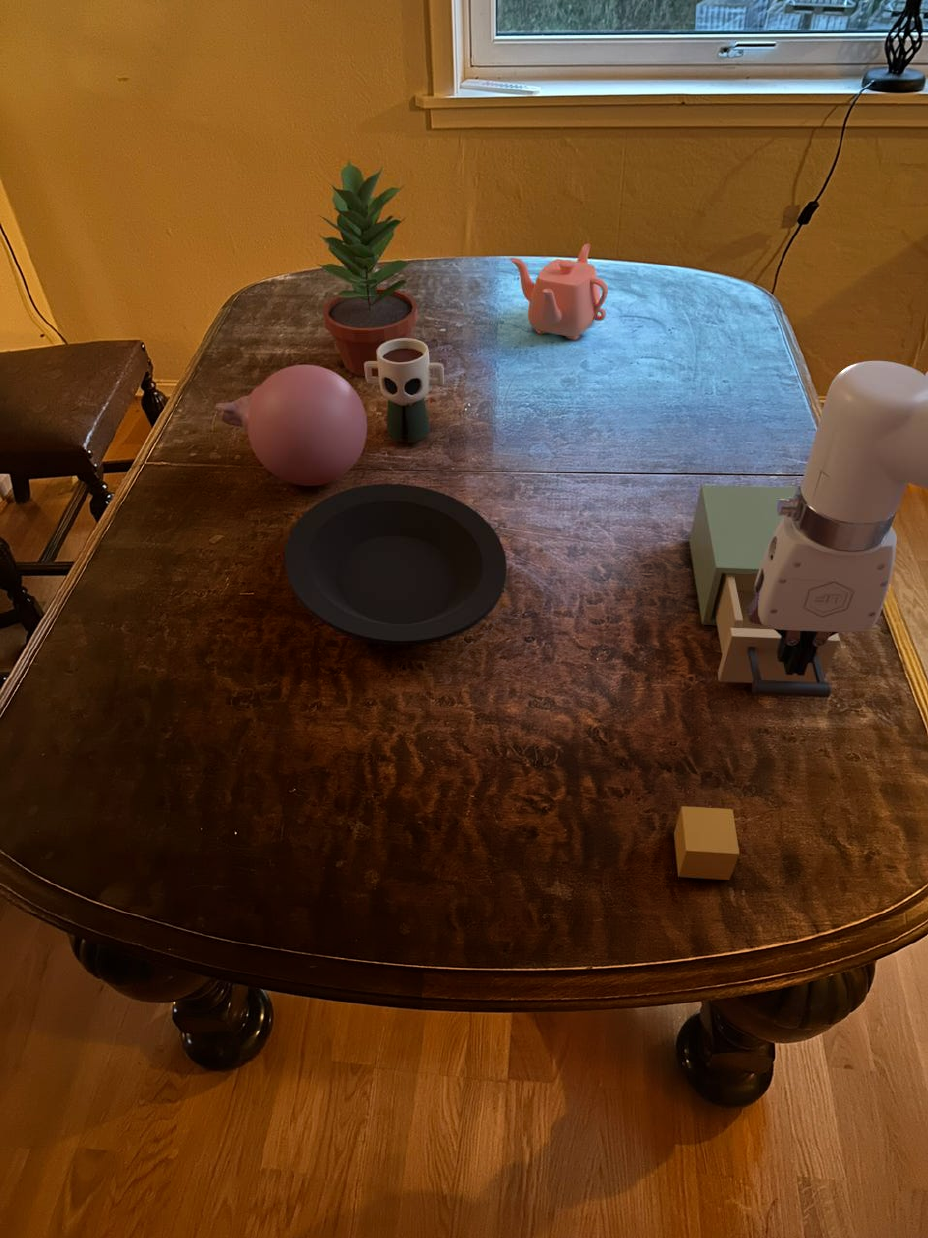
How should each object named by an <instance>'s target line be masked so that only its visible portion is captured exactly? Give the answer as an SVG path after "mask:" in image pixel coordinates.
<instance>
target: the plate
mask: <svg viewBox="0 0 928 1238" xmlns="http://www.w3.org/2000/svg"><path fill="white" fill-rule="evenodd" d="M284 567H285V572H286V575H287V579H288V583H289V585H290V587H291V590H292V592H293V593H294V595H295V597H296V598H297V600H298V601H299V602H300V604H302V606H303V607H304V608H305V609H306V610H307V611H308V612H309V613H310V614H311V615H312V616H313V617H315V619H317V620H318V621H320V622H321V623H323V624H324V625H325V626H327V627H329V628H331V629H333V630H334V631H336V632H339V633H341V634H343V635H344V636H347V637H351V638H353V639H357V640H358V641H359V640H360V641H363V642H366V643H367V642H368V643H370V644H371V643H372V644H378V645H385V646H395V647H396V646H398V647H400V646H401V647H408V646H421V645H428V644H433V643H438V642H441V641H446V640H448V639H451V638H453V637H456V636H458V635H461V634H463V633H464V632H466V631H468V630H470V629H472V628H473V627H475V626H476V625H478V624H479V623H480V622H481V621H482V620H484V619H485V618H486V617H487V616H488V615H489V614H490V613H491V612H492V611H493V610H494V608H495V607H496V605H497V604H498V602H499V601H500V599H501V597H502V596H503V595H502V594H503V592H504V590H505V586H506V582H507V568H508V567H507V558H506V553H505V549H504V546H503V544H502V542H501V539H500V537H499V536H498V534H497V533H496V531H495V530H494V528H493V527H492V526H491V524H490V523H489V522H487V520H486V519H485V518H484V517H483V516H481V514H479V512H477V511H476V510H475V509H473V508H471V507H470V506H468V505H467V504H465V503H464V502H462V501H460V500H458V499H456V498H454V497H452V496H450V495H448V494H445V493H443V492H440V491H437V490H433V489H430V488H428V487H427V488H426V487H421V486H417V485H410V484H403V483H401V484H400V483H379V484H367V485H362V486H357V487H352V488H349V489H345V490H343V491H339V492H337V493H335V494H332V495H330V496H328V497H326V498H324V499H322V500H321V501H319V502H318V503H316V504H315V505H313V506H311V508H309V509H308V510H307V511H306V512H305V513H304V514H303V515H301V517H300V518H299V519H298V520H297V522H296V523H295V525H294V526H293V527H292V529H291V531H290V534H289V536H288V538H287V540H286V543H285V548H284Z"/></svg>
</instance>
